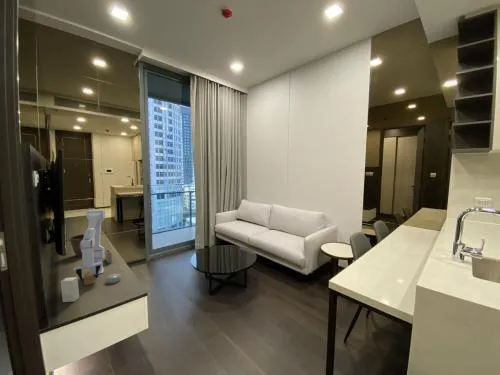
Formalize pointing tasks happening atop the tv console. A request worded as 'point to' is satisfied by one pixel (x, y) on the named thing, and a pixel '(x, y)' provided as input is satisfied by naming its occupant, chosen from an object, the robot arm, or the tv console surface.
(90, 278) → the walnut block
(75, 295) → the skincare box
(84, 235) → the robot arm
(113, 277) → the pale grey round disc
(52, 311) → the tv console surface
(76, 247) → the plant pot
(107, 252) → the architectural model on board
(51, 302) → the tv console surface
